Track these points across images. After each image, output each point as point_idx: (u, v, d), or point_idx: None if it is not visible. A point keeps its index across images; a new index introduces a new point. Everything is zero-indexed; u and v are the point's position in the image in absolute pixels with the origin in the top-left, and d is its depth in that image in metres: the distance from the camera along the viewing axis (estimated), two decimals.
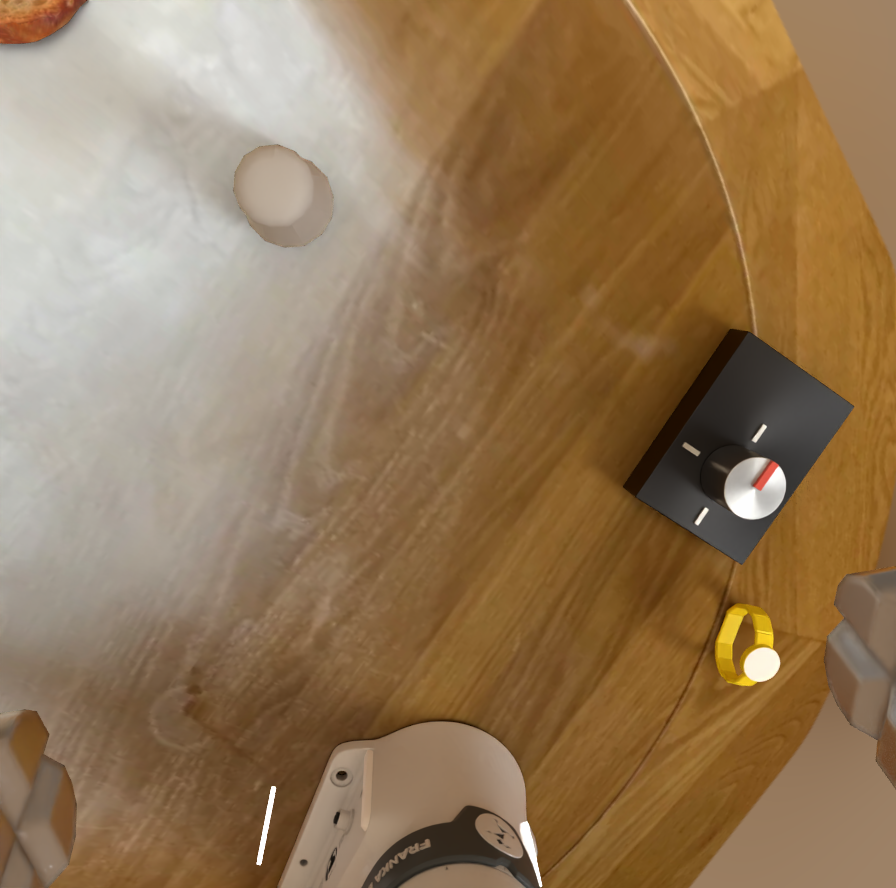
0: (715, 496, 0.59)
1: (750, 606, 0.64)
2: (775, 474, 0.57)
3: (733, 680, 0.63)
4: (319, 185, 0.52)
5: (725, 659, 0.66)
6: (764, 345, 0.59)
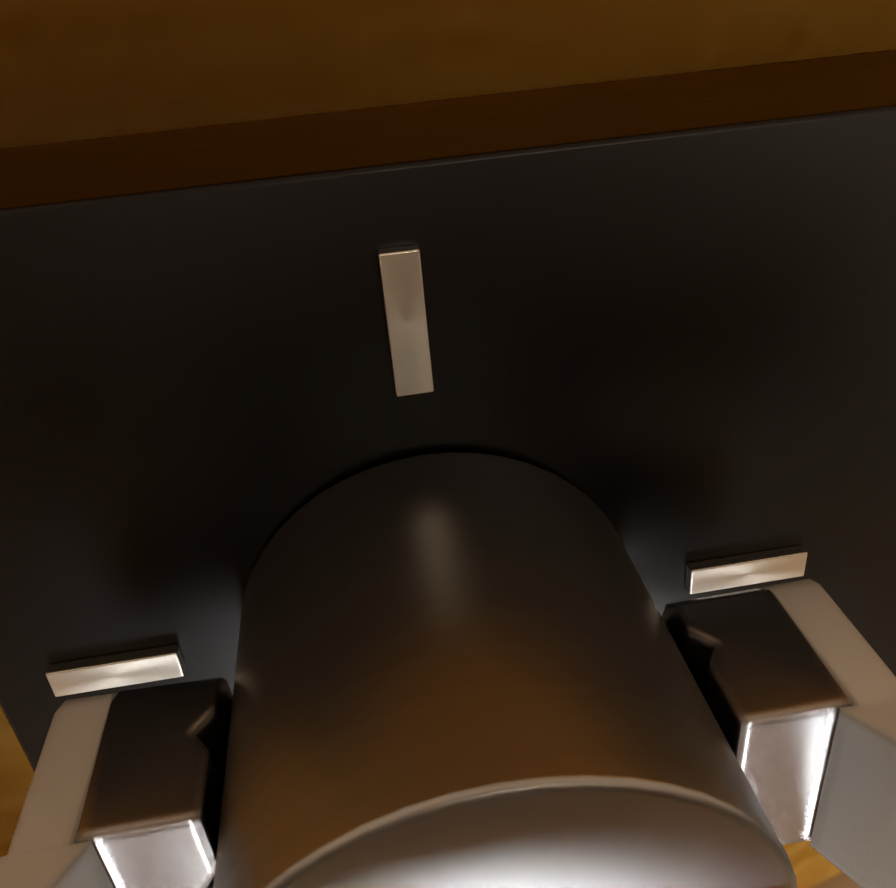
0: (239, 732, 0.07)
1: None
2: None
3: None
4: None
5: None
6: None
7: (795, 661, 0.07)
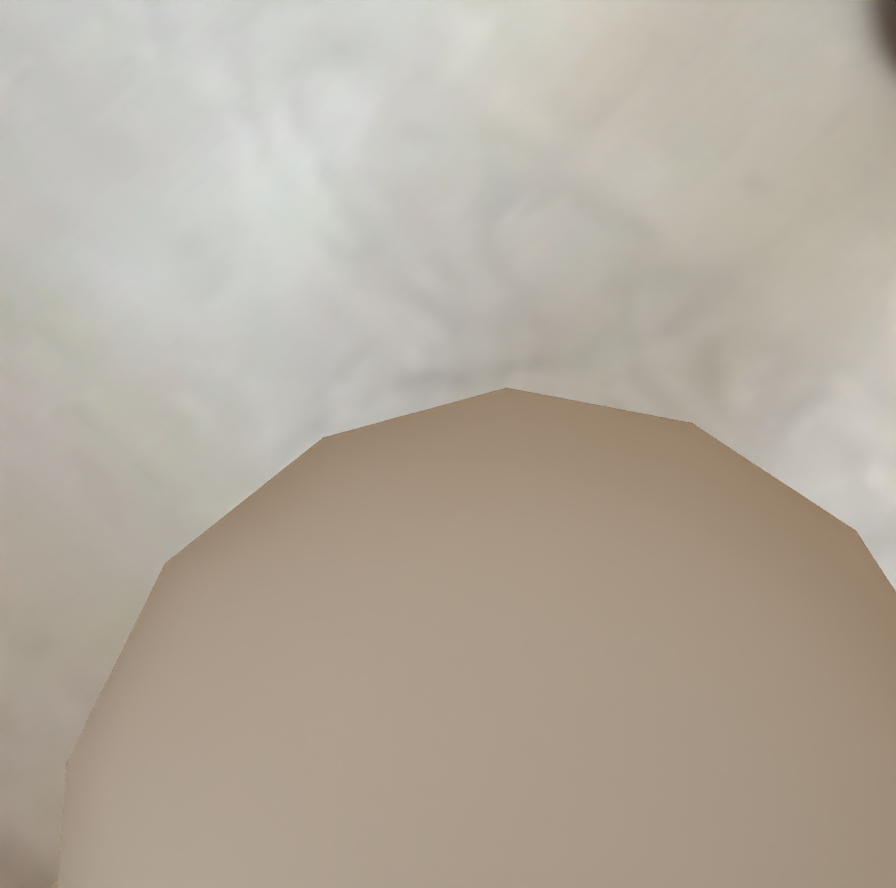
0: None
1: None
2: None
3: None
4: None
5: None
6: None
7: None
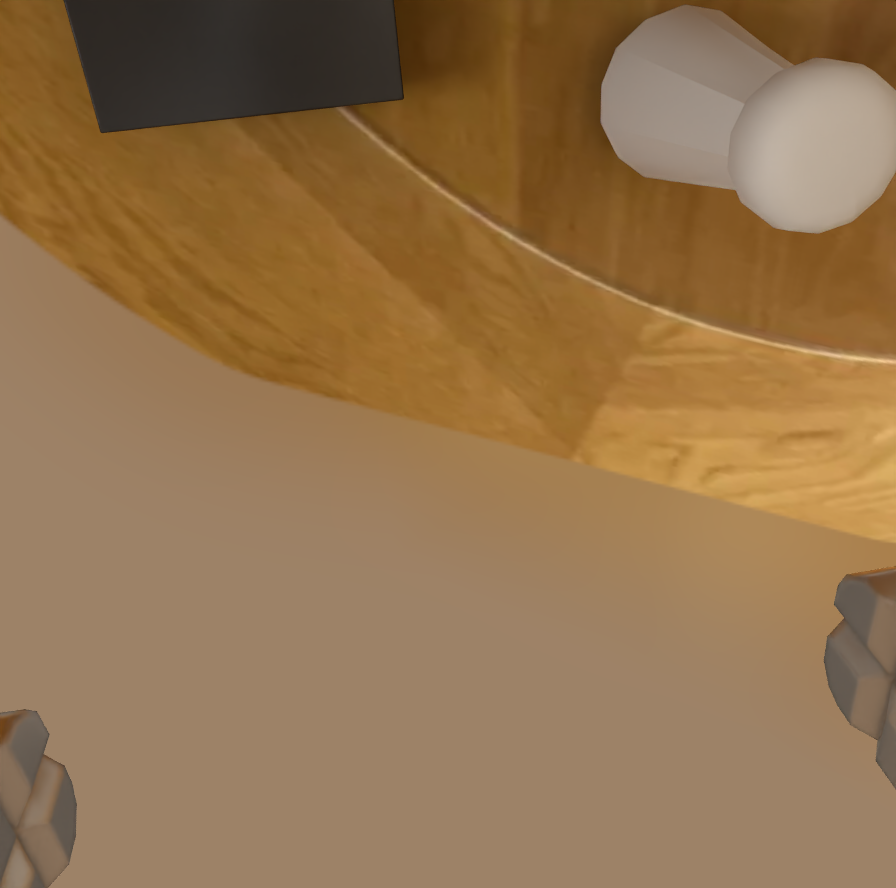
0: None
1: None
2: None
3: None
4: (673, 171, 0.28)
5: None
6: (357, 99, 0.28)
7: None
